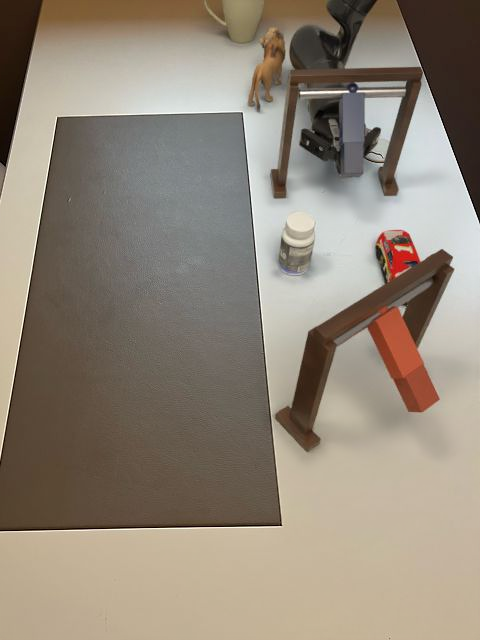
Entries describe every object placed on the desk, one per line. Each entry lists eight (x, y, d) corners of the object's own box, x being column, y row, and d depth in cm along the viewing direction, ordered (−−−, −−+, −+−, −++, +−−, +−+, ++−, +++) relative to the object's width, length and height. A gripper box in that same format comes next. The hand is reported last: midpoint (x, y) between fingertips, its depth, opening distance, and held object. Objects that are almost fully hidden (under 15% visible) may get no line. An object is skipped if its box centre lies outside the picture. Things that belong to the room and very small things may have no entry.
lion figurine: (258, 69, 123) (261, 22, 115) (284, 72, 122) (290, 24, 115) (245, 112, 115) (248, 63, 107) (273, 115, 114) (278, 67, 107)
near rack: (274, 418, 78) (293, 317, 62) (388, 342, 84) (431, 234, 68) (307, 452, 75) (335, 356, 59) (422, 371, 81) (475, 265, 65)
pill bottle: (276, 253, 94) (282, 209, 87) (308, 254, 94) (316, 209, 87) (278, 276, 91) (284, 232, 84) (310, 277, 91) (319, 233, 84)
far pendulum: (298, 178, 92) (297, 87, 91) (401, 176, 92) (402, 84, 91) (301, 174, 89) (300, 80, 88) (407, 172, 89) (407, 78, 88)
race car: (428, 307, 88) (437, 288, 84) (389, 308, 88) (397, 289, 84) (407, 242, 95) (415, 221, 92) (372, 243, 95) (378, 222, 92)
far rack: (270, 175, 104) (282, 61, 89) (389, 172, 104) (423, 58, 89) (273, 198, 101) (286, 84, 85) (396, 195, 101) (433, 81, 85)
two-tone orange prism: (368, 441, 67) (315, 334, 65) (463, 372, 72) (416, 270, 70) (381, 442, 65) (326, 332, 63) (478, 371, 70) (430, 266, 67)
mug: (238, 20, 134) (241, -43, 124) (272, 37, 130) (277, -27, 120) (201, 38, 130) (201, -25, 120) (234, 56, 126) (237, -8, 116)
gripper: (294, 84, 99) (307, 151, 89) (377, 82, 99) (400, 149, 89) (288, 126, 105) (300, 194, 95) (367, 125, 105) (387, 192, 95)
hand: (348, 172), depth 92 cm, fingers closed
